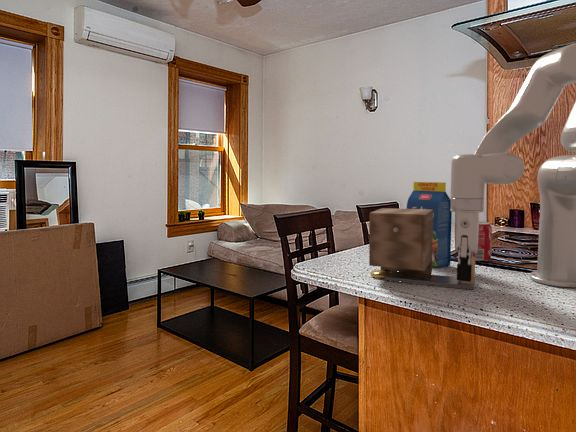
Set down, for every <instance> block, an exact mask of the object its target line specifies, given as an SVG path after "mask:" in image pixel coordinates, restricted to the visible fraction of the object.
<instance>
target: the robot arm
mask: <svg viewBox="0 0 576 432" xmlns="http://www.w3.org/2000/svg"><path fill="white" fill-rule="evenodd" d="M572 84H576V42H573V43H571V44H568V45H565V46H563V47H561V48H558V49H555V50H553V51H550V52H547V53H546V54H544V55H542V56H541V57H539V58H538V59H537V60H536V61H535V62H534V64H533V65H532V67H531V68H530V70H529V72H528V74H527V76H526V78H525V80H524V81H523V83H522V84H521V87H520V89H519V90H518V92H517V94H516V97H515V98H514V99H513V101H512V103H511V105H510V107H509V108H508V110H507V111H506V112H505V113H504V114H503V115H502V116H501V117H500V118H499V119H498V121H497V122H496V123H494V125H493V126H492V127H491V128H490V129H489V130H488V132H487V133H486V134H485V135H484V136H483V138H482V139H481V141H480V143H479V144H478V147H477V148H476V150H475V152H474V153H469V154H467V153H466V154H465V153H464V154H457V155H454V156H453V157H452V159H451V167H450V169H451V171H450V197H449V198H450V211H452V213H453V212H454V250H455V252H456V253H457V254H458V255H457V258H458V259H457V264H456V277H457V280H459V281H469V282H470V281H471V266H472V265H470V261H471V255H472V252H474V254H476V253H477V251H478V236H479V221H480V213H484V211H485V210H484V208H485V189H486V188H485V187H486V184H492V185H510V184H513V183H515V182H517V181H519V180H520V179H521V178H522V176H523V174H524V172H525V164H524V161H523V159H522V158H521V157H519V156H518V155H516V154H514V153H510V152H509V150H510V149H511V148H512V147H513V146H514V145H515V144H516V143H517V142H518V141H520V140H521V139H522V138H524V137H526V136H527V135H529V134H531V133H533V132H534V131H535V130H537V129H539V128H540V127H541V126H542V125H544V124H545V123H546V122H547V120H548V118H549V116H550V115H551V113H552V110H553V109H554V107H555V105H556V103H557V102H558V99H559V98H560V96H561V94H562V93H563V90H564V89H565V88H566V87H567V86H570V85H572ZM560 144H561V146H562V147H563V148H564V149H565V150H566V151H568V152H570V153H571V152H572V153H576V99H575V102H574V103H573V106H572V108H571V111H570V113H569V115H568V117H567V120H566V122H565V123H564V126H563V128H562V131H561V135H560ZM536 176H537V179H536V180H537V188H538V191H539V192H538V193H539V207H540V208H539V226H538V245H537V246H538V249H537V266H536V269H537V270H534V271H531V272H530V273H529V279H530V280H532V281H534V282H536V283H539V284H544V285H548V286H552V287H562V288H576V154H565V155H556V156H553V157H551V158H548V159H547V160H545V161H544V162H543V163H542V164H541V165H540V167H539V169H538V171H537V175H536Z"/></svg>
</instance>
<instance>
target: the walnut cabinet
mask: <svg viewBox="0 0 576 432" xmlns="http://www.w3.org/2000/svg"><path fill="white" fill-rule="evenodd" d="M368 215H369V218H368V219H369V224H368V225H369V228H368V229H369V230H368V231H369V232H368V233H369V236H368V237H369V243H368V244H369V245H368V247H369V248H368V252H369V253H368V254H369V255H368V256H369V258H368V261H369V263H368V264H369V265H368V266H371V267H380V270H384V271H385V270H389V271H388V272H391V271H399V272H408V273H419V274H430V275H431V274H432V273H433V267H432V240H433V209H407V208H392V207H391V208H389V207H388V208H387V207H386V208H384V207H382V208H379V209H376V210H374V211H370V212H369V214H368ZM432 275H433V274H432Z"/></svg>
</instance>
